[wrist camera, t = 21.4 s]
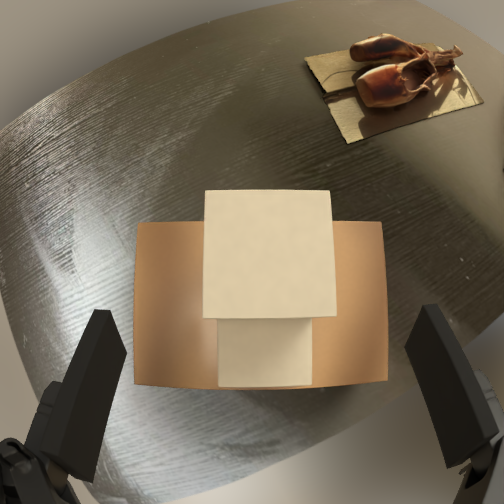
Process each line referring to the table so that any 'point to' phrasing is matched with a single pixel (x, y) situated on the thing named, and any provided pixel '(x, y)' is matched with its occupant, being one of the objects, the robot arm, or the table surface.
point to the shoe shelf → (205, 330)
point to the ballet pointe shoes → (390, 84)
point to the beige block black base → (267, 282)
